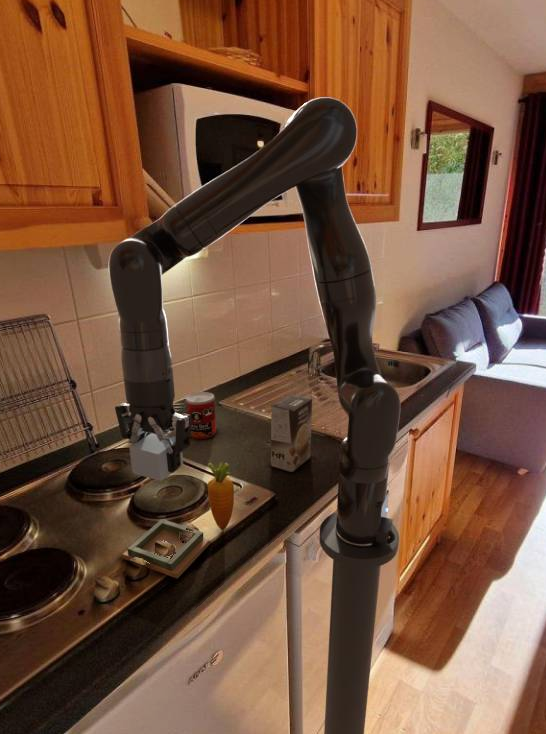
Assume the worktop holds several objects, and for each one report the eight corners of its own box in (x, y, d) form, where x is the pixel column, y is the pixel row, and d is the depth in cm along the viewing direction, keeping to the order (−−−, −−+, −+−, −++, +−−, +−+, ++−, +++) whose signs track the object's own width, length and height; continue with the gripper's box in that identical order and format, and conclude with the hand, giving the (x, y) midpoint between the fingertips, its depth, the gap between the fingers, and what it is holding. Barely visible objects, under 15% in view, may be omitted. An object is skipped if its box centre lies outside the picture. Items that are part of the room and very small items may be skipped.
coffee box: (292, 473, 114) (293, 411, 108) (270, 466, 117) (269, 405, 111) (311, 457, 121) (312, 398, 115) (289, 451, 124) (289, 393, 118)
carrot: (205, 529, 94) (200, 462, 88) (225, 518, 97) (221, 453, 91) (220, 541, 91) (216, 472, 85) (240, 530, 94) (238, 462, 88)
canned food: (184, 438, 130) (181, 401, 126) (193, 426, 138) (191, 390, 133) (211, 440, 129) (209, 403, 125) (219, 428, 137) (217, 392, 132)
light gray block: (183, 464, 83) (181, 439, 81) (161, 481, 78) (158, 454, 76) (155, 457, 85) (153, 432, 83) (132, 473, 80) (128, 446, 78)
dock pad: (209, 544, 90) (209, 533, 89) (177, 578, 81) (176, 567, 80) (158, 527, 94) (157, 516, 93) (122, 558, 86) (121, 547, 85)
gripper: (95, 372, 75) (109, 466, 81) (170, 387, 69) (179, 486, 75) (129, 360, 81) (139, 448, 87) (200, 372, 75) (206, 465, 82)
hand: (158, 465), depth 81 cm, fingers closed on light gray block, 6 cm apart
